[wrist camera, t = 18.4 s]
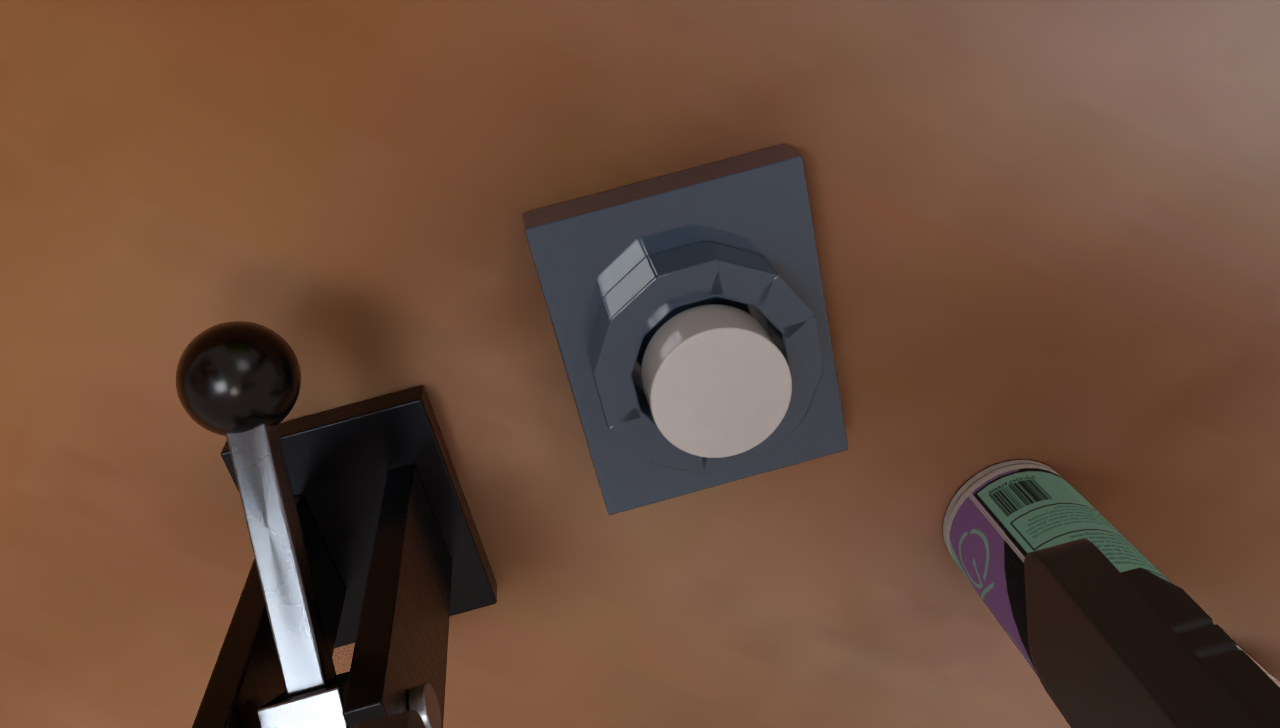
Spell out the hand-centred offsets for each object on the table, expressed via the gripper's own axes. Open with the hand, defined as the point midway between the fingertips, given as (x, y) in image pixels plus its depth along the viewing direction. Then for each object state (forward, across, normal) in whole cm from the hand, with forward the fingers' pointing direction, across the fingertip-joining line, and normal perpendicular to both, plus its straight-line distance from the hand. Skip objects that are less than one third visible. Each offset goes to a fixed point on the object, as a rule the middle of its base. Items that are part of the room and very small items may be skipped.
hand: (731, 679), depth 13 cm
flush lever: (+15, +11, +6) cm, 19 cm away
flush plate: (+22, -2, +5) cm, 23 cm away
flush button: (+19, -2, +5) cm, 19 cm away
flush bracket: (+22, +11, +9) cm, 26 cm away
